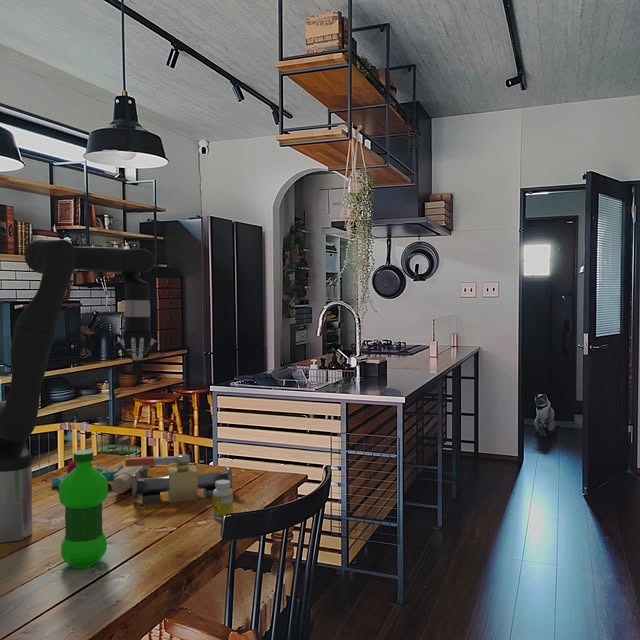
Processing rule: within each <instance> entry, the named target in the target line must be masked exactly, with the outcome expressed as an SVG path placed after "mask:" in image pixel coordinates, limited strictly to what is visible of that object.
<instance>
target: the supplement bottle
mask: <svg viewBox="0 0 640 640" xmlns="http://www.w3.org/2000/svg"><path fill="white" fill-rule="evenodd" d="M215 487H216V489H215V490H214V491H213V498H212V517H213V519H215V520H219V521H223V520H222V517H223V516H224V515H225V514H230V513H233V514H234V502H233V501H234V492H233V488H232V489H231V488H229V487H230V481H229V480H218V481H216V482H215Z"/></svg>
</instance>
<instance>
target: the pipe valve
mask: <svg viewBox="0 0 640 640" xmlns="http://www.w3.org/2000/svg"><path fill="white" fill-rule="evenodd" d="M175 465H176V466H168V467H167V476H166V475H165V476H154V477H142V478H139V479H137V474H132V488H131V498H132V500H137V499H138V497H137V496H138V495H141V503H142V504H145V505H154V504H155V505H157V504H161V493H167V497H168V498H167V499H168V502H169V504H171V503H178V502H179V503H180V502H181V501H182V502H191V501H192V500H193V501H198V490H200V489H201V490H203V491H202V492H203V495H204V497H205V499H206V500H209V498H210V499H213V491H214V490H215V489H216V487H215V482H216V481H218V480H229V481H230V487H229V488H231V489H232V490H233V473H232V468H231V467H230V466H226V467H224V471H217V472H207V473H206V472H203V473H198V469H197V467H196V465H195V464H194V465H193V464H192V465H190V462H189V463H188V464H176V463H175ZM142 504H141V505H142Z"/></svg>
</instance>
